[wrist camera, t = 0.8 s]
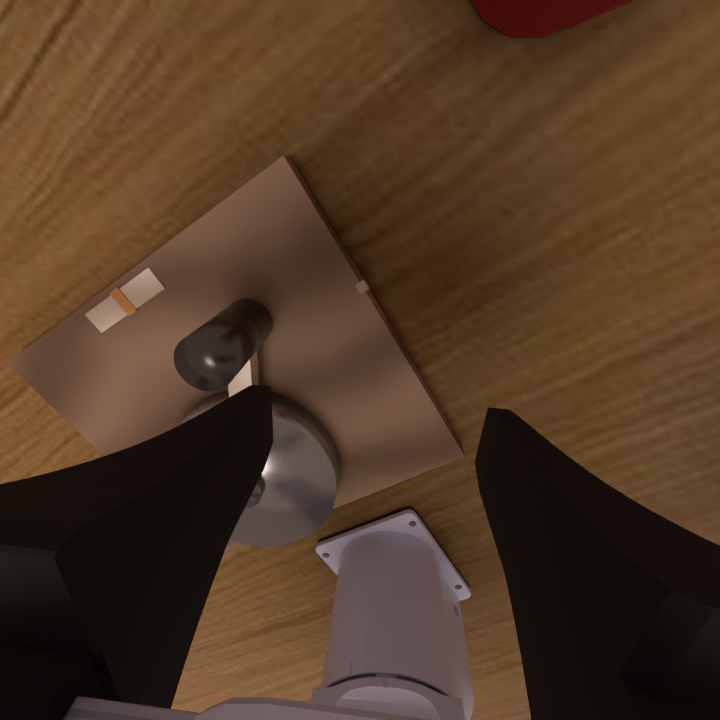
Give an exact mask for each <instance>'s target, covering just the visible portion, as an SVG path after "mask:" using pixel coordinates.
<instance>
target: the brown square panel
mask: <svg viewBox="0 0 720 720" xmlns="http://www.w3.org/2000/svg"><path fill="white" fill-rule="evenodd" d="M240 299H252V300H255V301H257V302H259V303H261V304H262V305H263V306H264V307H265V308H266V309H267V310H268V312H269V313H270V315H271V318H272V323H273V327H272V331H271V334H270V335H269V337H268V338H267V339H266V340H265V342H264V343H263V344H262V345H261V346H260V348H259V349H258V350H257V361H258V379H259V386H269V387H271V392H272V395H276V396H279V397H281V398H284V399H286V400H289V401H291V402H293V403H294V404H296V405H298V406H300V407H301V408H303V409H304V410H306V411H307V412H309V413H310V414H311V415H312V416H313V417H314V418H316V419H317V420H318V421H319V422H320V423H321V425H322V426H323V427H324V428H325V429H326V431H327V432H328V434H329V435H330V436H331V438H332V440H333V442H334V444H335V446H336V449H337V452H338V456H339V461H340V476H339V482H338V487H337V493H336V498H335V503H334V506H333V509H335V508H338V507H340V506H343V505H345V504H348V503H350V502H353V501H355V500H358V499H360V498H363V497H365V496H368V495H370V494H373V493H375V492H378V491H380V490H383V489H385V488H388V487H390V486H393V485H395V484H398V483H400V482H403V481H405V480H408V479H410V478H413V477H415V476H418V475H420V474H423V473H425V472H428V471H430V470H433V469H435V468H438V467H440V466H443V465H445V464H448V463H450V462H453V461H455V460H458V459H460V458H463V457H465V454H464V451H463V447H462V443H461V442H460V440H459V438H458V437H457V435H456V433H455V432H454V430H453V428H452V427H451V425H450V423H449V422H448V420H447V418H446V417H445V415H444V413H443V412H442V410H441V408H440V407H439V405H438V403H437V402H436V400H435V398H434V397H433V395H432V393H431V392H430V390H429V388H428V387H427V385H426V383H425V382H424V380H423V378H422V377H421V375H420V373H419V371H418V370H417V368H416V366H415V365H414V363H413V361H412V360H411V358H410V356H409V355H408V353H407V351H406V350H405V348H404V346H403V345H402V343H401V341H400V340H399V338H398V336H397V335H396V333H395V331H394V330H393V328H392V326H391V325H390V323H389V321H388V320H387V318H386V316H385V315H384V313H383V311H382V310H381V308H380V306H379V305H378V303H377V301H376V300H375V298H374V296H373V295H372V293H371V291H370V290H369V286H368V285H367V283H366V281H365V280H364V279H363V278H362V276H361V275H360V273H359V271H358V270H357V268H356V266H355V265H354V263H353V261H352V259H351V258H350V256H349V254H348V253H347V251H346V249H345V248H344V246H343V244H342V243H341V241H340V239H339V238H338V236H337V234H336V233H335V231H334V229H333V228H332V226H331V224H330V223H329V221H328V219H327V218H326V216H325V214H324V213H323V211H322V209H321V208H320V206H319V204H318V203H317V201H316V199H315V198H314V196H313V194H312V193H311V191H310V189H309V188H308V186H307V184H306V183H305V181H304V179H303V178H302V176H301V174H300V173H299V171H298V169H297V168H296V166H295V164H294V163H293V161H292V159H291V158H290V157H287V156H284V155H283V156H282V157H280V158H279V159H278V160H276V161H275V162H274V163H272V164H271V165H270V166H268V167H267V168H266V169H264V170H263V171H262V172H260V173H259V174H258V175H256V176H255V177H254V178H252V179H251V180H250V181H249V182H247V183H246V184H245V185H243V186H242V187H241V188H239V189H238V190H237V191H235V192H234V193H233V194H231V195H230V196H229V197H227V198H226V199H225V200H223V201H222V202H221V203H219V204H218V205H217V206H215V207H214V208H213V209H211V210H210V211H209V212H207V213H206V214H205V215H203V216H202V217H201V218H199V219H198V220H197V221H195V222H194V223H193V224H191V225H190V226H189V227H187V228H186V229H185V230H183V231H182V232H181V233H179V234H178V235H177V236H175V237H174V238H173V239H171V240H170V241H169V242H167V243H166V244H165V245H163V246H162V247H161V248H159V249H158V250H157V251H155V252H154V253H153V254H151V255H150V256H149V257H147V258H146V259H145V260H143V261H142V262H141V263H139V264H138V265H137V266H135V267H134V268H133V269H131V270H130V271H129V272H127V273H126V274H125V275H123V276H122V277H121V278H119V279H118V280H117V281H115V282H114V283H113V284H111V285H110V286H109V287H107V288H106V289H105V290H103V291H102V292H101V293H99V294H98V295H97V296H95V297H94V298H93V299H91V300H90V301H89V302H87V303H86V304H85V305H83V306H82V307H81V308H79V309H78V310H77V311H75V312H74V313H73V314H71V315H70V316H69V317H67V318H66V319H65V320H63V321H62V322H61V323H59V324H58V325H57V326H55V327H54V328H53V329H51V330H50V331H49V332H47V333H46V334H45V335H43V336H42V337H41V338H39V339H38V340H37V341H35V342H34V343H33V344H31V345H30V346H29V347H27V348H26V349H25V350H23V351H22V352H21V353H19V354H18V355H17V356H15V357H14V358H13V359H11V360H10V361H9V362H7V364H9V365H10V366H11V367H12V368H13V369H14V370H15V371H16V372H17V373H18V374H19V375H20V376H21V377H22V378H23V379H24V380H25V381H26V382H27V383H28V384H29V385H30V386H31V387H32V388H33V389H34V390H35V391H36V392H37V393H39V394H40V395H41V396H42V397H43V398H44V399H45V400H46V401H47V402H48V403H49V404H50V405H51V406H52V407H53V408H54V409H55V410H56V411H57V412H58V413H59V414H60V415H61V416H62V417H63V418H64V419H65V420H66V421H67V422H68V423H70V424H71V425H72V426H73V427H74V428H75V429H76V430H77V431H78V432H79V433H80V434H81V435H82V436H83V437H84V438H85V439H86V440H87V441H88V442H89V443H90V444H91V445H92V446H93V447H94V448H95V449H96V450H97V451H98V452H99V453H101V454H102V455H103V456H106V455H109V454H112V453H115V452H118V451H120V450H123V449H126V448H129V447H132V446H134V445H137V444H139V443H141V442H144V441H146V440H149V439H151V438H153V437H156V436H158V435H160V434H162V433H164V432H167V431H169V430H171V429H173V428H175V427H176V426H177V425H178V424H179V423H180V422H181V421H182V420H183V419H184V418H185V417H186V415H187V414H188V413H189V412H190V411H191V410H192V409H193V408H194V407H195V406H197V405H198V404H199V403H201V402H202V401H204V400H206V399H208V398H210V397H212V396H215V395H217V394H220V393H225V392H229V391H228V386H226V387H225V388H223V389H221V390H218V391H203V390H199V389H197V388H194V387H192V386H191V385H189V384H188V383H187V382H185V381H184V380H183V379H182V377H181V376H180V375H179V373H178V372H177V370H176V368H175V365H174V359H173V356H174V350H175V348H176V346H177V344H178V343H179V342H180V341H181V340H182V339H184V338H185V337H186V336H188V335H189V334H191V333H192V332H193V331H195V330H196V329H198V328H199V327H200V326H202V325H203V324H204V323H206V322H207V321H209V320H210V319H211V318H213V317H214V316H216V315H217V314H218V313H220V312H221V311H222V310H224V309H225V308H227V307H228V306H229V305H231V304H232V303H234V302H235V301H237V300H240ZM333 509H332V510H333ZM242 545H245V544H241V543H237V542H233V541H230V540H229V542H228V544H227V546H226V549H225V551H224V553H225V552H227V551H230V550H232V549H235V548H237V547H240V546H242Z"/></svg>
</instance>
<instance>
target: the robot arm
mask: <svg viewBox="0 0 720 720" xmlns="http://www.w3.org/2000/svg"><path fill="white" fill-rule="evenodd" d="M273 441H274V440H273V416H272V392H271V387H269V386H259V385H251V386H248V387H246V388H245V389H243V390H241V391H239V392H238V393H236V394H234V395H232V396H231V397H229V398H227V399H226V400H224V401H222V402H221V403H219V404H217V405H215V406H214V407H212V408H210V409H209V410H207V411H205V412H203V413H202V414H200V415H198V416H196V417H194V418H192V419H190V420H188V421H186V422H184V423H182V424H181V425H179V426H177V427H175V428H173V429H171V430H169V431H167V432H164V433H162V434H160V435H158V436H156V437H153V438H151V439H149V440H146V441H144V442H141V443H139V444H137V445H134V446H132V447H129V448H126V449H123V450H120V451H118V452H115V453H112V454H109V455H106V456H103V457H100V458H98V459H95V460H92V461H89V462H86V463H82V464H79V465H75V466H72V467H69V468H65V469H62V470H58V471H54V472H50V473H47V474H43V475H39V476H35V477H31V478H27V479H22V480H18V481H13V482H8V483H4V484H0V720H470V719H471V715H472V711H473V703H474V690H473V682H472V676H471V670H470V664H469V657H468V651H467V645H466V638H465V632H464V626H463V620H462V613H461V607H460V601H461V600H464V599H468V598H469V597H470V596H471V591H470V588H469V587H468V586H467V584H466V583H465V581H464V580H463V579H462V577H461V576H460V574H459V573H458V572H457V570H456V569H455V567H454V566H453V565H452V563H451V562H450V560H449V559H448V557H447V556H446V555H445V553H444V552H443V550H442V549H441V548H440V546H439V545H438V543H437V542H436V541H435V539H434V538H433V536H432V535H431V534H430V532H429V531H428V529H427V528H426V526H425V525H424V524H423V522H422V521H421V519H420V518H419V517H418V515H417V514H416V512H415V511H413V510H410V509H407V510H404V511H401V512H398V513H396V514H393V515H390V516H388V517H385V518H382V519H380V520H377V521H374V522H372V523H369V524H366V525H364V526H361V527H358V528H356V529H353V530H350V531H348V532H345V533H342V534H340V535H337V536H334V537H332V538H329V539H326V540H324V541H321V542H319V543H317V545H316V552H317V553H318V555H319V556H320V557H321V558H322V559H323V560H324V561H325V562H326V564H327V565H328V566H329V567H330V568H331V569H332V570H333V572H334V573H335V574H336V575H337V581H336V588H335V595H334V602H333V609H332V615H331V622H330V629H329V636H328V643H327V650H326V657H325V664H324V671H323V678H322V684H321V688H314V689H313V693H312V699H311V703H308V702H300V701H293V700H286V699H278V698H271V697H250V698H230V699H228V700H226V701H223V702H221V703H219V704H216V705H214V706H212V707H210V708H207V709H206V710H204V711H203V712H201V713H196V712H189V711H182V710H175V709H171V706H172V702H173V699H174V696H175V693H176V690H177V686H178V683H179V680H180V677H181V674H182V670H183V667H184V664H185V661H186V658H187V655H188V652H189V649H190V646H191V643H192V640H193V637H194V634H195V631H196V628H197V625H198V622H199V619H200V617H201V614H202V611H203V608H204V605H205V603H206V600H207V597H208V594H209V591H210V589H211V586H212V583H213V580H214V578H215V575H216V572H217V570H218V567H219V564H220V562H221V559H222V556H223V554H224V551H225V549H226V546H227V544H228V542H229V539H230V537H231V535H232V533H233V531H234V529H235V527H236V525H237V523H238V521H239V519H240V517H241V515H242V513H243V511H244V509H245V507H246V505H247V503H248V501H249V499H250V497H251V495H252V493H253V491H254V489H255V487H256V485H257V483H258V481H259V479H260V477H261V475H262V472H263V470H264V468H265V465H266V462H267V459H268V457H269V454H270V451H271V447H272V444H273ZM475 466H476V473H477V479H478V485H479V490H480V494H481V498H482V501H483V505H484V508H485V511H486V514H487V518H488V521H489V524H490V527H491V530H492V533H493V537H494V540H495V543H496V546H497V549H498V553H499V556H500V559H501V562H502V566H503V569H504V573H505V577H506V581H507V586H508V591H509V595H510V600H511V605H512V610H513V615H514V620H515V625H516V631H517V636H518V642H519V647H520V653H521V658H522V664H523V670H524V676H525V682H526V689H527V695H528V701H529V707H530V713H531V720H720V546H719V545H717V544H715V543H713V542H711V541H709V540H706V539H704V538H702V537H700V536H698V535H696V534H694V533H692V532H690V531H688V530H686V529H684V528H682V527H680V526H678V525H677V524H675V523H673V522H671V521H669V520H667V519H665V518H664V517H662V516H660V515H658V514H656V513H654V512H653V511H651V510H649V509H647V508H645V507H644V506H642V505H640V504H638V503H637V502H635V501H633V500H632V499H630V498H628V497H627V496H625V495H624V494H622V493H620V492H619V491H617V490H616V489H614V488H612V487H611V486H609V485H608V484H606V483H605V482H603V481H602V480H600V479H599V478H597V477H596V476H594V475H593V474H591V473H590V472H589V471H587V470H586V469H584V468H583V467H582V466H580V465H579V464H577V463H576V462H575V461H573V460H572V459H571V458H569V457H568V456H567V455H565V454H564V453H563V452H562V451H560V450H559V449H558V448H556V447H555V446H554V445H553V444H551V443H550V442H549V441H548V440H546V439H545V438H544V437H543V436H542V435H540V434H539V433H538V432H537V431H536V430H534V429H533V428H532V427H531V426H529V425H528V424H527V423H526V422H525V421H523V420H522V419H521V418H520V417H518V416H517V415H516V414H514V413H513V412H512V411H510V410H508V409H498V408H488V410H487V414H486V418H485V422H484V426H483V430H482V434H481V439H480V443H479V447H478V451H477V455H476V459H475ZM410 521H415V522H410Z"/></svg>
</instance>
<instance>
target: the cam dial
mask: <svg viewBox="0 0 720 720" xmlns="http://www.w3.org/2000/svg"><path fill="white" fill-rule="evenodd" d="M272 327H273V323H272V318H271V315H270V313H269V312H268V310H267V309H266V308H265V307H264V306H263V305H262V304H261V303H259V302H257V301H255V300H252V299H240V300H237V301H235V302H234V303H232V304H231V305H229V306H228V307H227V308H225V309H224V310H222V311H221V312H220V313H218V314H217V315H216V316H214V317H213V318H211V319H210V320H209V321H207V322H206V323H204V324H203V325H202V326H200V327H199V328H198V329H196V330H195V331H193V332H192V333H191V334H189V335H188V336H186V337H185V338H184V339H182V340H181V341H180V342H179V343H178V344H177V346H176V348H175V350H174V356H173V359H174V365H175V368H176V370H177V372H178V373H179V375H180V376H181V377H182V379H183V380H184V381H185V382H187V383H188V384H189V385H191V386H192V387H194V388H197V389H199V390H203V391H218V390H221V389H223V388H225V387H226V386H228V391H229V392H225V393H220V394H217V395H215V396H212V397H210V398H208V399H206V400H204V401H202V402H201V403H199V404H198V405H197V406H195V407H194V408H193V409H192V410H191V411H190V412H189V413H188V414H187V415H186V417H185V418H184V419H183V420H182V421H181V422H180V423H179V424H178V425H177V426H179V425H181V424H182V423H184V422H186V421H188V420H190V419H192V418H194V417H196V416H198V415H200V414H202V413H203V412H205V411H207V410H209V409H210V408H212V407H214V406H215V405H217V404H219V403H221V402H222V401H224V400H226V399H227V398H229V397H231V396H232V395H234V394H236V393H238V392H239V391H241V390H243V389H245V388H246V387H248V386H251V385H259V379H258V361H257V350H258V349H259V348H260V346H261V345H262V344H263V343H264V342H265V340H266V339H267V338H268V337H269V335H270V334H271V331H272ZM272 416H273V440H274V441H273V444H272V447H271V451H270V454H269V457H268V459H267V462H266V465H265V468H264V470H263V472H262V475H261V477H260V479H259V481H258V483H257V485H256V487H255V489H254V491H253V493H252V495H251V497H250V499H249V501H248V503H247V505H246V507H245V509H244V511H243V513H242V515H241V517H240V519H239V521H238V523H237V525H236V527H235V529H234V531H233V533H232V535H231V537H230V539H229V540H230V541H233V542H237V543H241V544H246V545H252V546H279V545H285V544H289V543H293V542H296V541H299V540H301V539H303V538H305V537H307V536H309V535H311V534H312V533H314V532H315V531H317V530H318V529H319V528H320V527H321V526H322V525H323V524H324V523H325V521H326V520H327V519H328V517H329V515H330V513H331V511H332V509H333V506H334V503H335V498H336V493H337V487H338V482H339V476H340V461H339V456H338V452H337V449H336V446H335V444H334V442H333V440H332V438H331V436H330V435H329V434H328V432H327V431H326V429H325V428H324V427H323V426H322V425H321V423H320V422H319V421H318V420H317V419H316V418H314V417H313V416H312V415H311V414H310V413H309V412H307V411H306V410H304V409H303V408H301V407H300V406H298V405H296V404H294V403H293V402H291V401H289V400H286V399H284V398H281V397H279V396H276V395H272ZM177 426H176V427H177Z"/></svg>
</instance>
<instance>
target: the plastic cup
mask: <svg viewBox="0 0 720 720" xmlns="http://www.w3.org/2000/svg"><path fill="white" fill-rule="evenodd" d="M471 1H472V3H473V4H474V6H475V8H476V9H477V11H478V13H479V14H480V16H481V18H482V19H483V21H485V22H487V23H488V24H490V25H491V26H493V27H495V28H496V29H498V30H499V31H501V32H503V33H504V34H506V35H507V36H520V37H541V38H542V37H545V36H547V35H549V34H552V33H554V32H557V31H559V30H561V29H564V28H566V27H573V26H575V25H577V24H580V23H582V22H585V21H587V20H589V19H592V18H594V17H596V16H599V15H601V14H604V13H606V12H608V11H611V10H613V9H616V8H618V7H620V6H622V5H624V4H627V3H629V2H631V1H633V0H471Z"/></svg>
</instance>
